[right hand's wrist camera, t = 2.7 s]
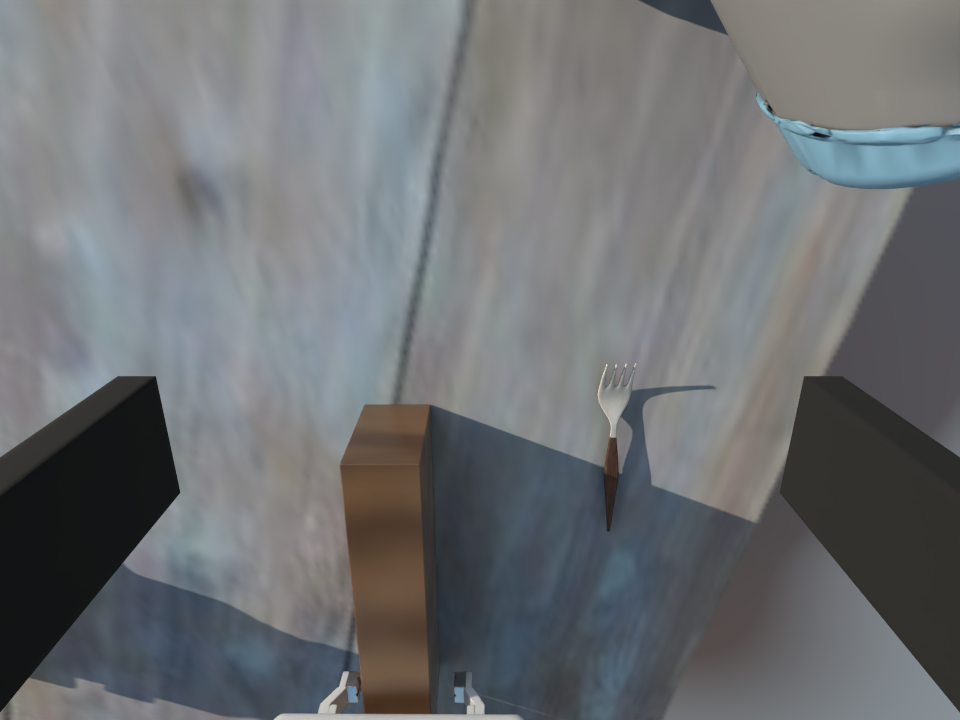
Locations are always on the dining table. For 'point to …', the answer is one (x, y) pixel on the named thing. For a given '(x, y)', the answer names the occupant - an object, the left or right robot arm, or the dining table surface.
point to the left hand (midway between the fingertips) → (408, 676)
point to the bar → (393, 557)
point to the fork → (613, 430)
